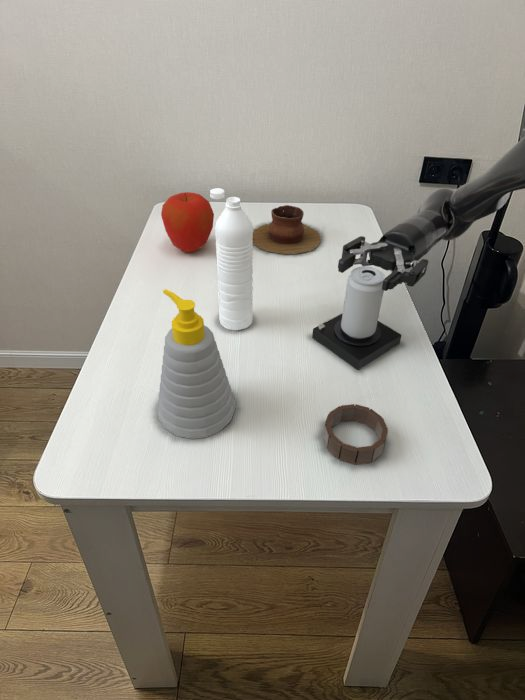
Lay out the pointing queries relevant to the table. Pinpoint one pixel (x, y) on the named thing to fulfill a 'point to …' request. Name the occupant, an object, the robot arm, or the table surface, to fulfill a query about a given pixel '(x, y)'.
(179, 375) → the soap bottle
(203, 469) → the table surface
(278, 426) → the table surface
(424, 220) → the robot arm
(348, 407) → the can holder
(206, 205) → the apple
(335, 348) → the hot plate
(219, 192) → the water bottle
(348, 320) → the beverage can
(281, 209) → the ceramic pot
